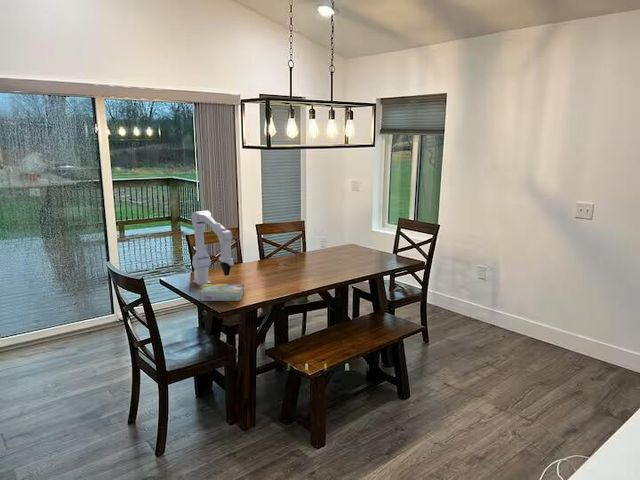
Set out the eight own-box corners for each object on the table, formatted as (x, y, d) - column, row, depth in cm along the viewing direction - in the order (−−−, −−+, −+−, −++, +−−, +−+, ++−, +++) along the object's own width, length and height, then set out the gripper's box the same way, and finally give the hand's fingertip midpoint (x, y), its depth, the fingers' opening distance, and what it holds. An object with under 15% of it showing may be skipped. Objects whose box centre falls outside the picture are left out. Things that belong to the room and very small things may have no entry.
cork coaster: (197, 286, 273) (197, 285, 273) (211, 283, 278) (211, 282, 278) (203, 290, 266) (203, 289, 266) (218, 287, 271) (218, 286, 271)
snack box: (243, 282, 261) (239, 291, 246) (244, 292, 262) (240, 301, 247) (205, 283, 260) (199, 291, 245) (206, 292, 261) (200, 301, 247)
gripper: (238, 253, 255) (238, 277, 258) (226, 248, 266) (227, 271, 269) (226, 255, 251) (227, 279, 254) (215, 250, 262) (216, 273, 265)
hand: (226, 275), depth 261 cm, fingers closed
